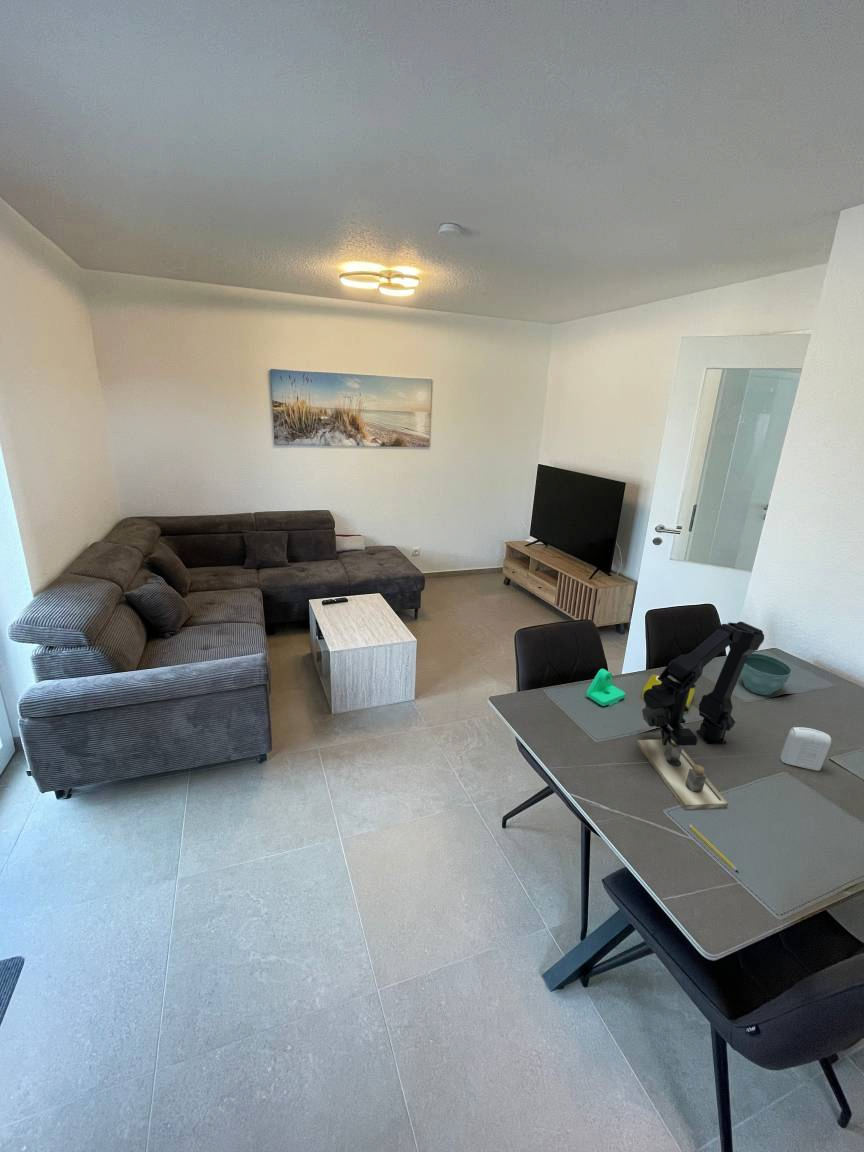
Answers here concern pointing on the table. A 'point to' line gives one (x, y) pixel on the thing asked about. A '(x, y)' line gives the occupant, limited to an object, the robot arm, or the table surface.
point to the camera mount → (604, 689)
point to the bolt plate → (683, 777)
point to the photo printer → (806, 748)
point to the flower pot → (764, 674)
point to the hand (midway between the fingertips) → (664, 744)
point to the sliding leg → (672, 751)
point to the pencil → (713, 848)
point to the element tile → (655, 681)
